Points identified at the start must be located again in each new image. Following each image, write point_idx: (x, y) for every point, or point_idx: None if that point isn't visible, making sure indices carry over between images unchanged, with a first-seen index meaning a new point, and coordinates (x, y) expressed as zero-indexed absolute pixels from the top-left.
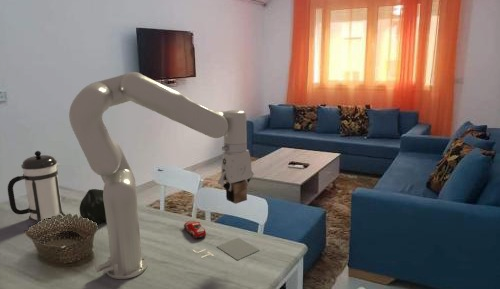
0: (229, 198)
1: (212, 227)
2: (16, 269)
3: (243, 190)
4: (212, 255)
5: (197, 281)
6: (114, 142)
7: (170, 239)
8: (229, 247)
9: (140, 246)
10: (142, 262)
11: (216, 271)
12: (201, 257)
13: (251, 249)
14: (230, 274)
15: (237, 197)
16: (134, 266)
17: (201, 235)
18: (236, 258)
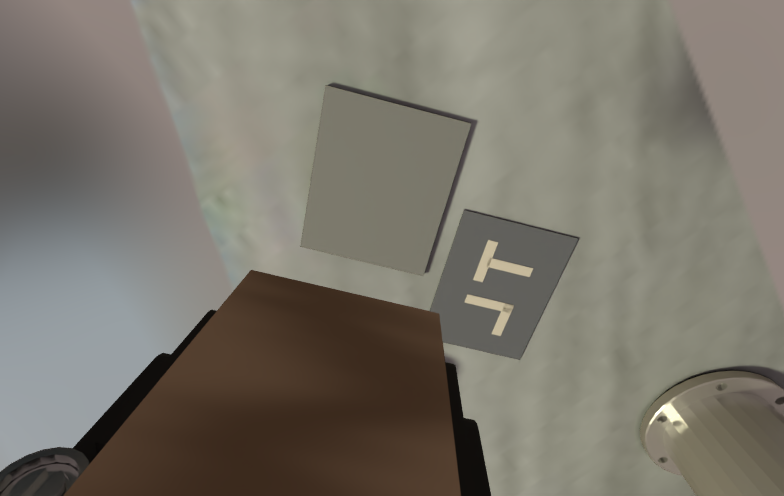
0: (470, 423)
1: None
2: None
3: (247, 398)
4: (494, 245)
5: (703, 167)
6: None
7: None
8: (398, 225)
9: (754, 471)
10: (682, 407)
11: (596, 149)
12: (531, 272)
13: (349, 124)
14: (592, 73)
15: (406, 358)
16: (758, 406)
17: None
18: (463, 135)
